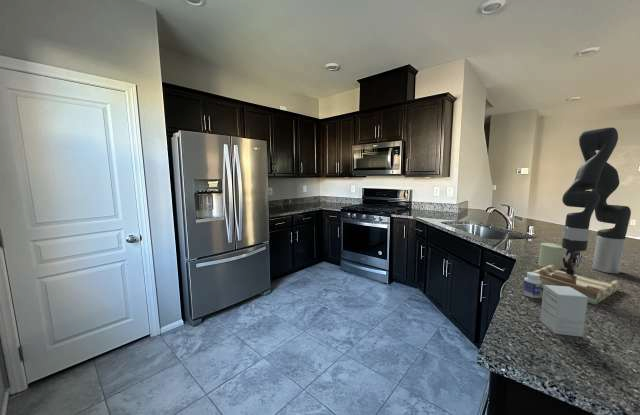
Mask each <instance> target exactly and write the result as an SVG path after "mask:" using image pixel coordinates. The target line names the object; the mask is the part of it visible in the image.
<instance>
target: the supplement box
mask: <svg viewBox="0 0 640 415" xmlns="http://www.w3.org/2000/svg"><path fill="white" fill-rule="evenodd" d="M541 300H542V301H541V307H540V308H541V310H540V316H539V321H540V322H541V323H542V324H543V325H544V326H545V327H546V328H547V329H549V330H550V331H551V332H552V333H553V334H555V335H562V336H571V337H572V336H573V337H581V338H583V337H584V331H585V330H584V329H585V325H586V324H585V322H586V315H587V308H588V297H587V296H585V295H584V294H582V293H580V292H578V291H577V290H575V289H573V288H571V287H567V286H554V285H544V288H543V291H542V299H541Z"/></svg>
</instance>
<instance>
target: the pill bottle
mask: <svg viewBox="0 0 640 415" xmlns="http://www.w3.org/2000/svg"><path fill="white" fill-rule="evenodd" d="M526 272H527V271H526ZM523 279H524V280H523V285H522V286H523V288H522V294H523V295H524V296H526V297H529V298H533V299H538V298H540V297H541V290H542V288H541V281H540V280H539V279H540V274H537V273H534V272H533V271H528V272H527V277H526V276H525V277H524V278H523Z"/></svg>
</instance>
